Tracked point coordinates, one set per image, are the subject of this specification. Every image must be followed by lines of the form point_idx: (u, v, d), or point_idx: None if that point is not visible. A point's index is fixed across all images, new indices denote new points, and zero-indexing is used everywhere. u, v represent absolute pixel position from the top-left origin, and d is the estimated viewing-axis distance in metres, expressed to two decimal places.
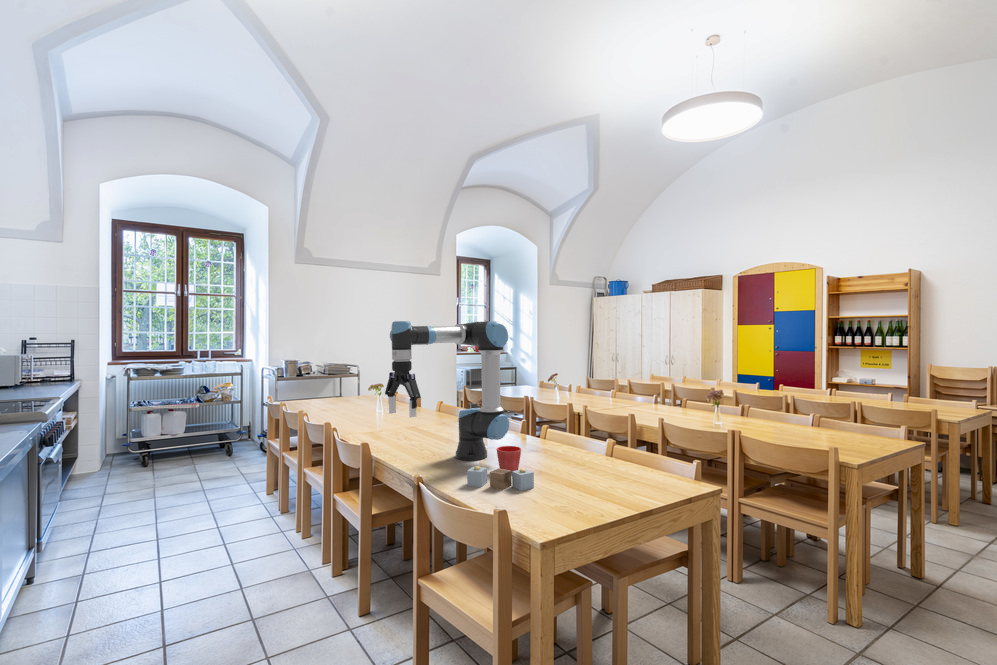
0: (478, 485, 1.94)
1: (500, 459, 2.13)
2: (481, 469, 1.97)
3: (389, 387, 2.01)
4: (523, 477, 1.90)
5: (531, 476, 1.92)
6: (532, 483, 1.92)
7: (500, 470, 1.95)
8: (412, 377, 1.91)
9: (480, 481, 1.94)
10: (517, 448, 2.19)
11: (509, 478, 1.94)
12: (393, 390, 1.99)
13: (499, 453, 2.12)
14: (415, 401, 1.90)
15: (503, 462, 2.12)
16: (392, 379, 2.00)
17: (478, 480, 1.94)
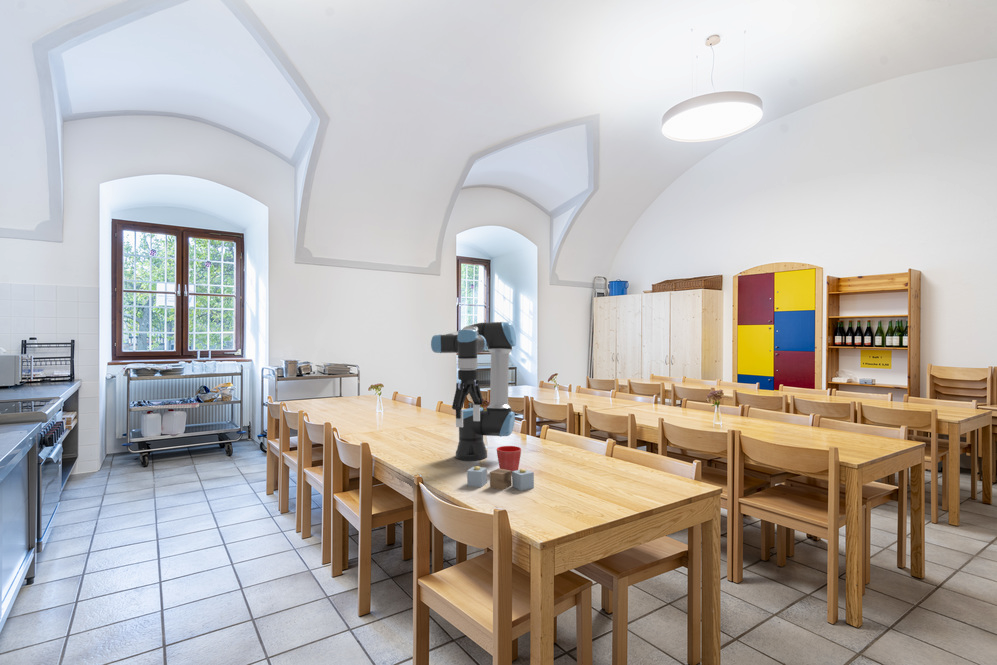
0: (478, 485, 1.94)
1: (500, 459, 2.13)
2: (481, 469, 1.97)
3: None
4: (523, 477, 1.90)
5: (531, 476, 1.92)
6: (532, 483, 1.92)
7: (500, 470, 1.95)
8: (458, 387, 1.88)
9: (480, 481, 1.94)
10: (517, 448, 2.19)
11: (509, 478, 1.94)
12: (473, 398, 1.99)
13: (499, 453, 2.12)
14: (457, 411, 1.87)
15: (503, 462, 2.12)
16: (474, 387, 2.00)
17: (478, 480, 1.94)
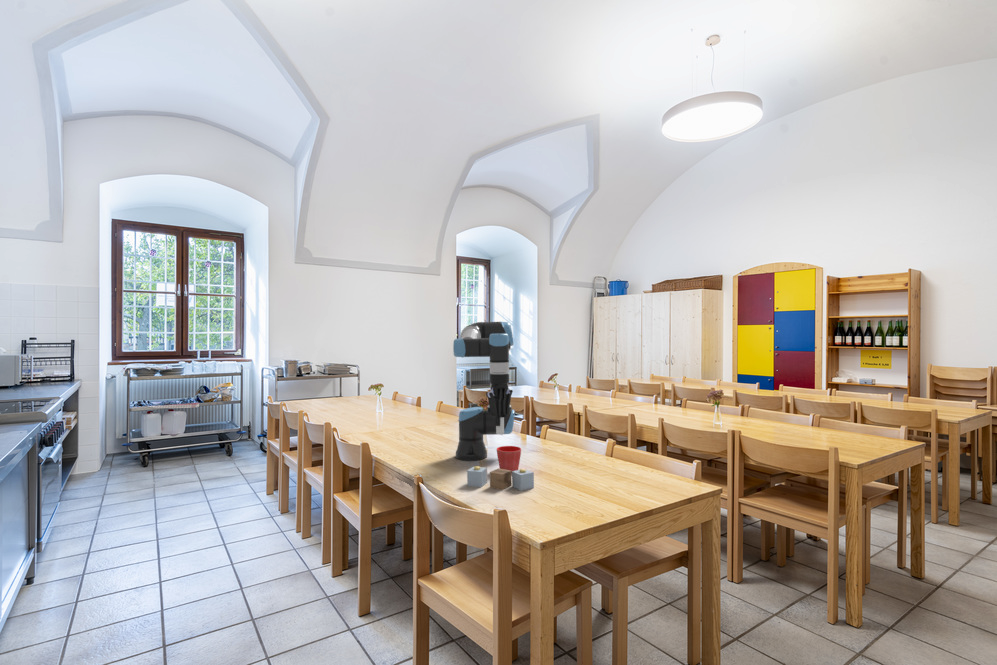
0: (478, 485, 1.94)
1: (500, 459, 2.13)
2: (481, 469, 1.97)
3: None
4: (523, 477, 1.90)
5: (531, 476, 1.92)
6: (532, 483, 1.92)
7: (500, 470, 1.95)
8: (489, 396, 1.90)
9: (480, 481, 1.94)
10: (517, 448, 2.19)
11: (509, 478, 1.94)
12: None
13: (499, 453, 2.12)
14: (496, 419, 1.93)
15: (503, 462, 2.12)
16: (506, 395, 1.97)
17: (478, 480, 1.94)
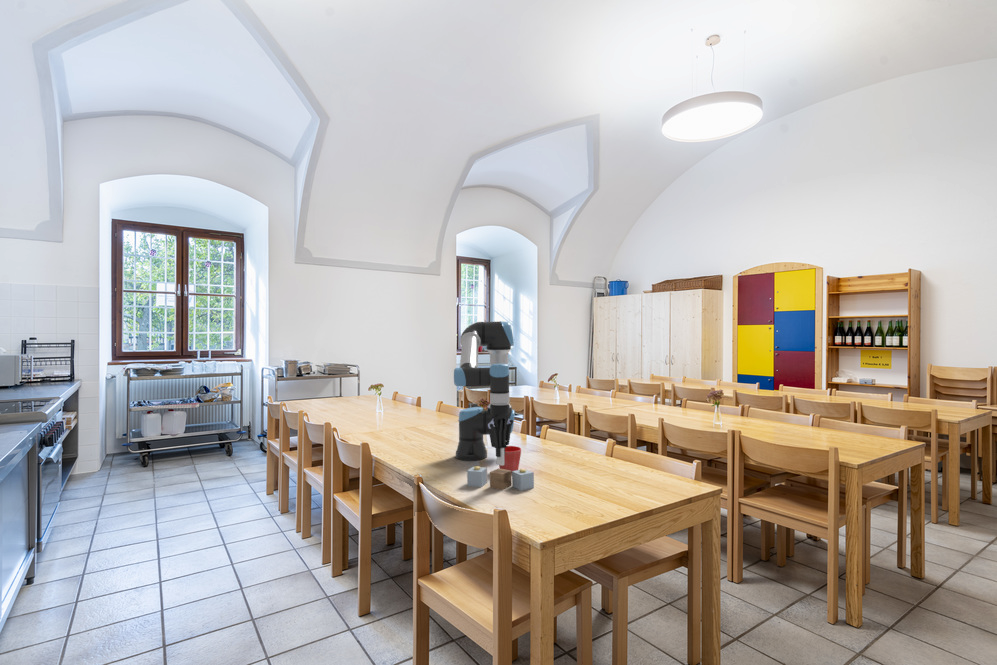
0: (478, 485, 1.94)
1: None
2: (481, 469, 1.97)
3: None
4: (523, 477, 1.90)
5: (531, 476, 1.92)
6: (532, 483, 1.92)
7: (500, 470, 1.95)
8: (489, 427, 1.90)
9: (480, 481, 1.94)
10: (517, 448, 2.19)
11: (509, 478, 1.94)
12: (500, 437, 1.95)
13: None
14: (497, 450, 1.93)
15: None
16: (506, 425, 1.97)
17: (478, 480, 1.94)
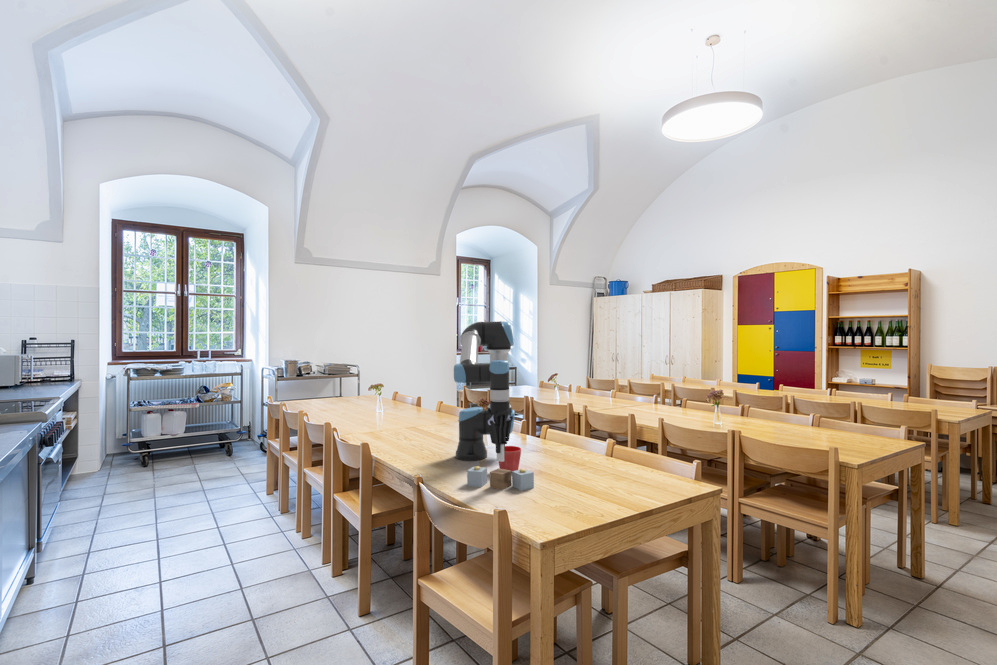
0: (478, 485, 1.94)
1: None
2: (481, 469, 1.97)
3: None
4: (523, 477, 1.90)
5: (531, 476, 1.92)
6: (532, 483, 1.92)
7: (500, 470, 1.95)
8: (489, 424, 1.90)
9: (480, 481, 1.94)
10: (517, 448, 2.19)
11: (509, 478, 1.94)
12: (500, 433, 1.95)
13: None
14: (497, 446, 1.93)
15: (503, 462, 2.12)
16: (506, 422, 1.97)
17: (478, 480, 1.94)
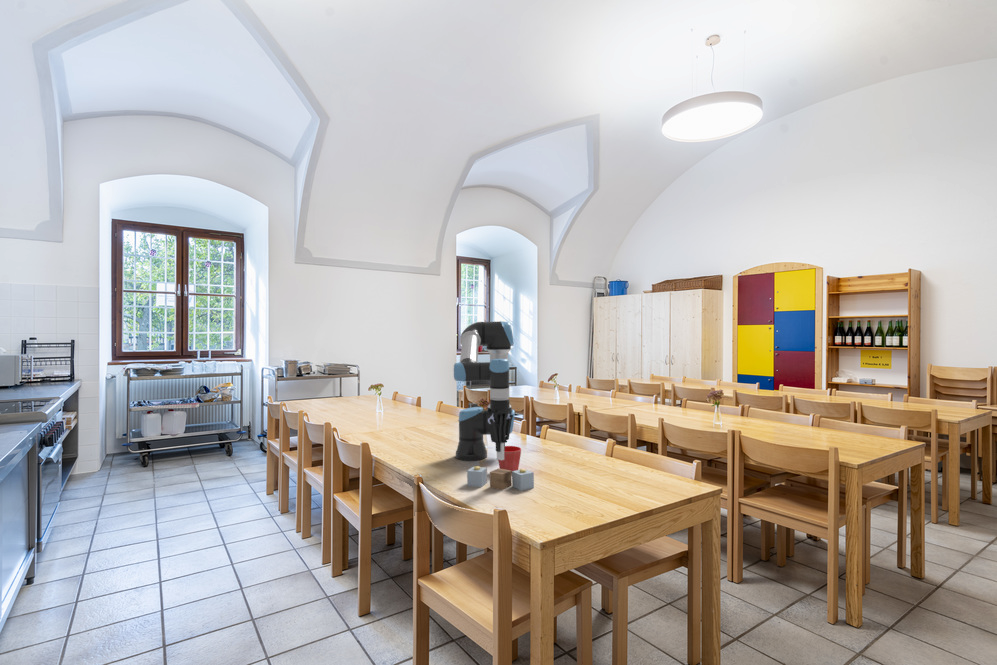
0: (478, 485, 1.94)
1: None
2: (481, 469, 1.97)
3: None
4: (523, 477, 1.90)
5: (531, 476, 1.92)
6: (532, 483, 1.92)
7: (500, 470, 1.95)
8: (489, 423, 1.90)
9: (480, 481, 1.94)
10: (517, 448, 2.19)
11: (509, 478, 1.94)
12: (500, 432, 1.95)
13: None
14: (497, 445, 1.93)
15: (503, 462, 2.12)
16: (506, 420, 1.98)
17: (478, 480, 1.94)
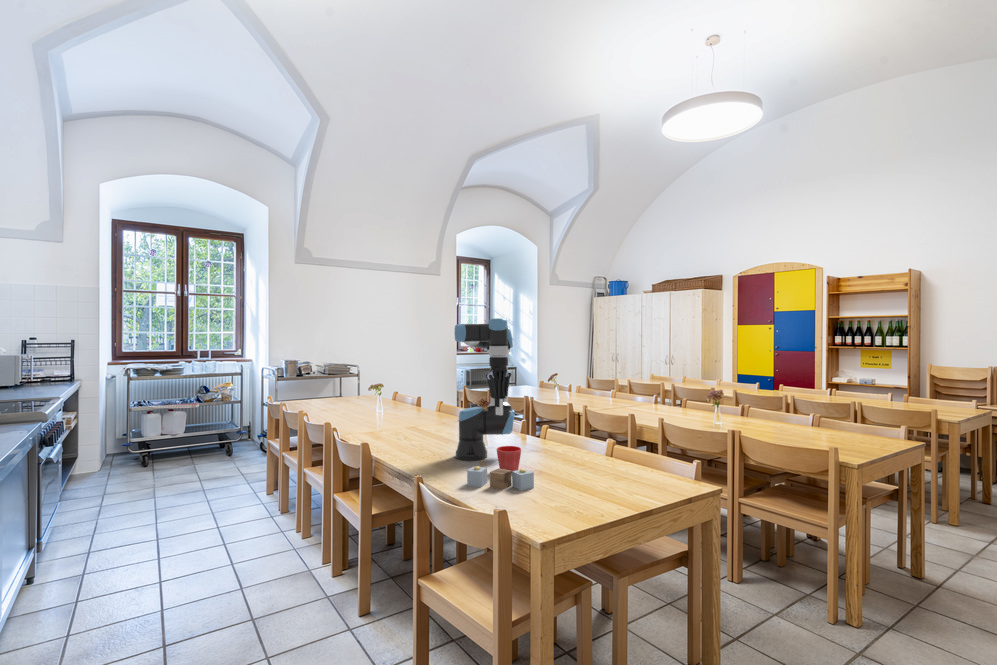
0: (478, 485, 1.94)
1: (500, 459, 2.13)
2: (481, 469, 1.97)
3: None
4: (523, 477, 1.90)
5: (531, 476, 1.92)
6: (532, 483, 1.92)
7: (500, 470, 1.95)
8: (488, 378, 1.99)
9: (480, 481, 1.94)
10: (517, 448, 2.19)
11: (509, 478, 1.94)
12: None
13: (499, 453, 2.12)
14: (496, 400, 2.01)
15: (503, 462, 2.12)
16: (505, 378, 2.06)
17: (478, 480, 1.94)
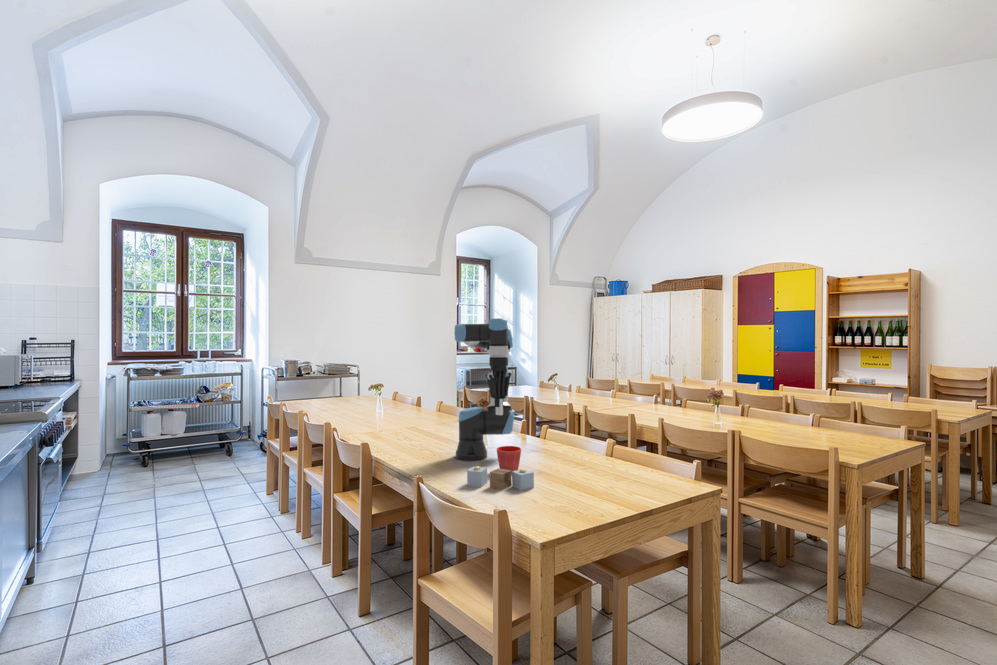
0: (478, 485, 1.94)
1: (500, 459, 2.13)
2: (481, 469, 1.97)
3: None
4: (523, 477, 1.90)
5: (531, 476, 1.92)
6: (532, 483, 1.92)
7: (500, 470, 1.95)
8: (488, 378, 1.99)
9: (480, 481, 1.94)
10: (517, 448, 2.19)
11: (509, 478, 1.94)
12: None
13: (499, 453, 2.12)
14: (496, 400, 2.01)
15: (503, 462, 2.12)
16: (505, 378, 2.06)
17: (478, 480, 1.94)
